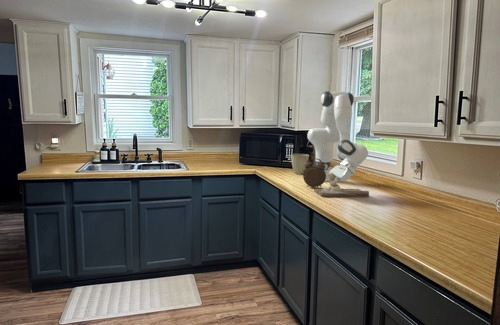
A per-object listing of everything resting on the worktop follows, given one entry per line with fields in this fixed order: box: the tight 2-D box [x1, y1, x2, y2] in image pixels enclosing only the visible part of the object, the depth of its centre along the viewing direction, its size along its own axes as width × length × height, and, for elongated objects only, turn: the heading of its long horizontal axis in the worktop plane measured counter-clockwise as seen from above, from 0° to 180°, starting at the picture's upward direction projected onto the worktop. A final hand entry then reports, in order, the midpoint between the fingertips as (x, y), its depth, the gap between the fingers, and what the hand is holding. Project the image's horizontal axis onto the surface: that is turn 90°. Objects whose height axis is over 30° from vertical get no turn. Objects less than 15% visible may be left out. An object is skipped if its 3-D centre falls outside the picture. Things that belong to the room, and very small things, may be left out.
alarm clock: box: [302, 157, 326, 189], centre depth 234 cm, size 15×7×20 cm, turn 53°
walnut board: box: [313, 188, 370, 198], centre depth 218 cm, size 14×30×4 cm, turn 99°
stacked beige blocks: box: [327, 173, 342, 191], centre depth 215 cm, size 6×5×11 cm
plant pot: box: [290, 153, 310, 175], centre depth 289 cm, size 15×15×16 cm
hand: (330, 182), depth 215 cm, fingers closed on stacked beige blocks, 3 cm apart
